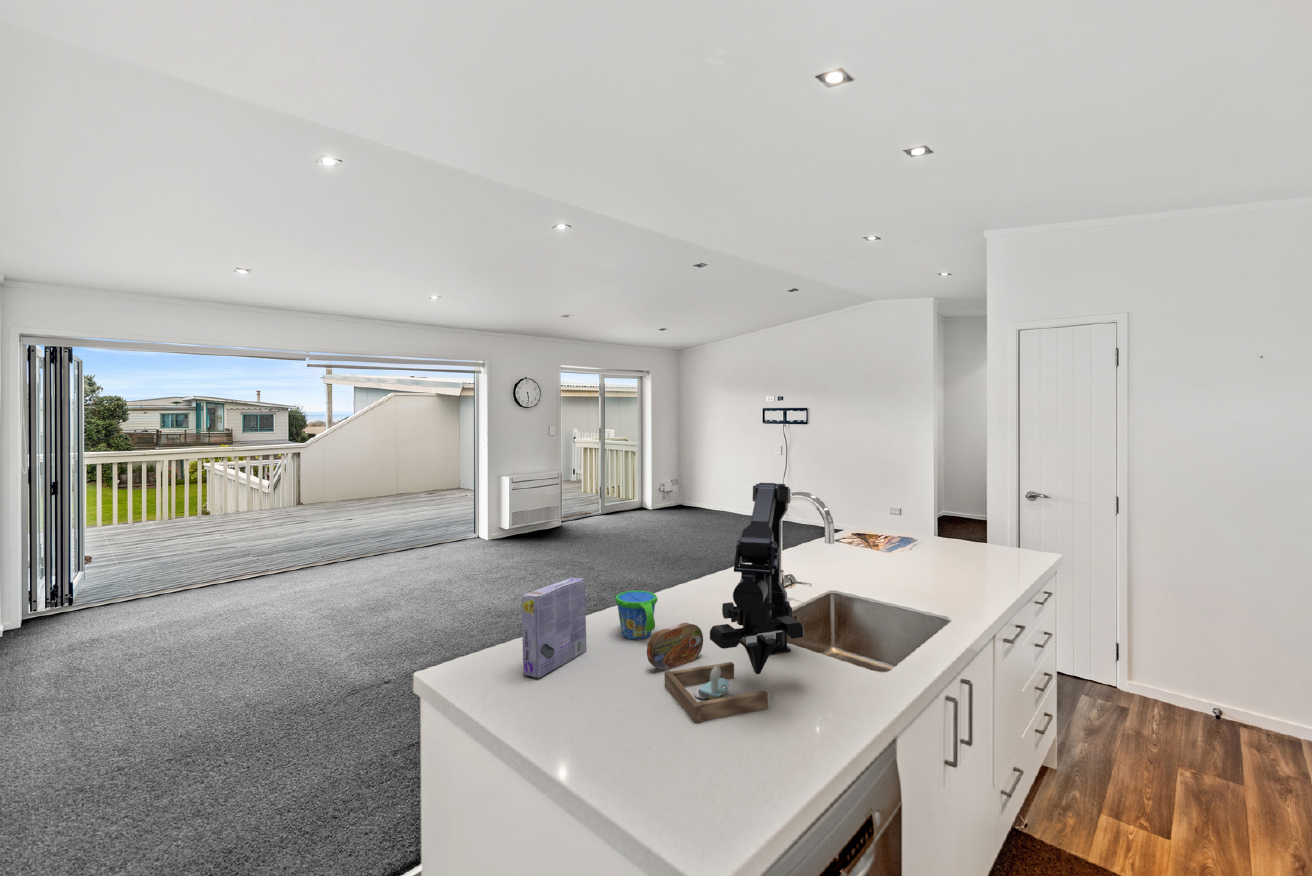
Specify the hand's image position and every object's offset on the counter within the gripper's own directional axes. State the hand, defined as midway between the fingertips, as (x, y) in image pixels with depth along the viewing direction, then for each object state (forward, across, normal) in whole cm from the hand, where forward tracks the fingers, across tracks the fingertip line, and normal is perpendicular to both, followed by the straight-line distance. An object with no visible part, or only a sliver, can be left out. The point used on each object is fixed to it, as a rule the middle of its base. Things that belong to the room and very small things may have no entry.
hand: (757, 673), depth 118 cm
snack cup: (+4, +14, -38) cm, 41 cm away
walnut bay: (+3, +10, 0) cm, 10 cm away
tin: (+4, +11, -18) cm, 21 cm away
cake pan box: (+4, +36, -28) cm, 46 cm away
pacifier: (+4, +10, -2) cm, 10 cm away
